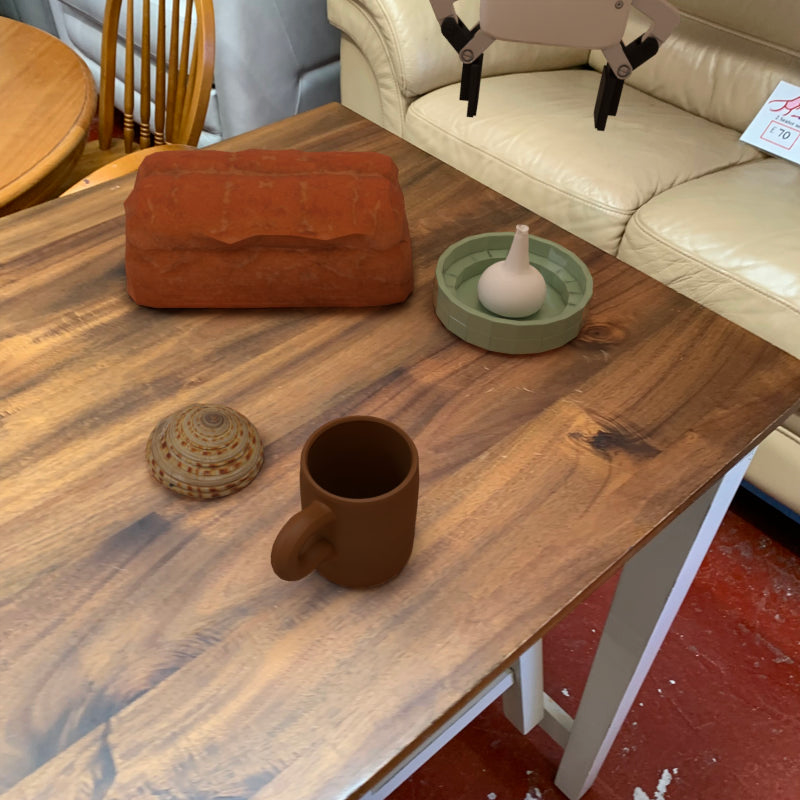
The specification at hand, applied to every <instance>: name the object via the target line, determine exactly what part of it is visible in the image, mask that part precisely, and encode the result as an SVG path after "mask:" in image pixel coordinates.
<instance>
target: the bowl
mask: <svg viewBox="0 0 800 800" xmlns="http://www.w3.org/2000/svg"><path fill="white" fill-rule="evenodd" d="M515 233H516V231H515V232H514V231H495V232H494V231H492V232H483V233H479V234H475V235H471V236H467V237H464V238H463V239H460V240H458V241H456V242H454V243H452V244H451V245H449V246H448V247H447V248H446V249H445V250H444V252H443V253H442V254H441V255H440V256H439V257H438V259H437V263H436V266H435V269H434V270H435V271H434V277H433V278H434V279H433V292H432V302H433V306H434V310H435V315H436V316H437V318H438V319H439V320H440V322H441V323H442V324H443V325H444V327H445V328H446V329H447V330H448V331H450V332H451V333H452V334H454V335H456V337H458V338H460V339H461V340H463V341H464V342H466V343H469V344H471V345H473V346H476V347H479V348H480V349H484V350H486V351H490V352H495V353H503V354H508V355H529V354H540V353H544V352H547V351H551V350H554V349H555V350H556V349H559V348H560V347H561V348H562V347H563V346H564V345H566V344H567V343H569V342H570V341H572V340H573V339H575V338H576V337H577V336H578V335H579V333H580V332H581V330H582V329H583V328H584V326H585V324H586V322H587V318H588V314H589V311H590V306H591V302H592V298H593V294H594V293H593V291H594V279H593V276H592V274H591V272H590V270H589V267H588V266H587V264H586V263H585V262H584V261H583V260H581V259H580V258H579V257H578V256H577V255H576V254H575V253H574V252H573V251H572V250H569V249H567V248H566V247H564V246H562V245H561V244H559V243H557V242H555V241H552V240H549V239H546V238H543V237H540V236H537V235H533V234H529V233H528V239H529V264H530V265H531V266H533V267H534V268H536V269H537V270H538V271H539V272H540V274H541V275H542V276H543V278H544V281H545V283H546V289H547V290H546V291H547V292H546V298H545V301H544V304H543V306H542V307H541V308H540V309H539V310H538V311H537V312H536V313H534V314H532V315H529V316H526V317H517V318H514V317H505V316H501V315H498V314H495V313H493V312H491V311H490V310H488V309H487V308H485V307H484V306H483V305H482V303H481V302H480V300H479V297H478V293H477V289H478V282H479V279H480V277H481V275H482V274H483V273H484V271H485V270H486V269H487V268H488V267H490V266H491V265H493V264H495V263H497V262H500V261H505V260H506V258H507V256H508V254H509V251H510V249H511V246H512V243H513V239H514V236H515Z"/></svg>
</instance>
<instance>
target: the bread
mask: <svg viewBox="0 0 800 800" xmlns="http://www.w3.org/2000/svg"><path fill="white" fill-rule="evenodd" d="M136 172H137V173H136V176H135V180H134V185H133V189H132V190H131V192H130V193H129V195H128V196H127V198H126V199H125V200H124V202H123V209H124V214H125V230H124V231H125V232H124V236H125V248H124V249H125V251H124V252H125V253H124V272H125V277H126V283H127V284H126V288H127V289H126V293H127V294H128V295H129V296H130V297H131V299H132V300H133V301H134V302H135V304H136V305H140V306H144V307H148V308H149V307H150V308H155V309H167V308H168V309H180V308H181V309H183V308H184V309H186V308H187V309H194V308H195V309H197V308H198V309H202V308H203V309H204V308H205V309H206V308H208V309H209V308H210V309H215V308H216V309H249V308H250V309H253V308H255V309H256V308H257V309H258V308H259V309H260V308H304V307H305V308H307V307H308V308H312V307H313V308H314V307H317V308H319V307H321V308H324V307H325V308H326V307H328V308H329V307H334V308H335V307H336V308H337V307H338V308H339V307H341V308H342V307H343V308H344V307H349V308H350V307H351V308H352V307H355V308H357V307H359V308H360V307H377V306H378V307H379V306H388V305H394V304H398V303H404V302H405V301H406V300H407V298H408V297H409V296H410V294H412V292H413V290H414V289H415V282H414V281H415V280H414V279H415V278H414V263H413V248H412V239H411V233H410V228H409V227H410V226H409V222H408V216H407V213H406V204H405V203H406V202H405V195H404V192H403V189H402V186H401V185H400V181H399V172H400V170H399V167H398V166H397V164H396V163H395V162H394V160H393V158H392V157H391V156H389V155H387V154H383V153H380V152H377V151H373V150H371V151H367V150H366V151H339V150H338V151H337V150H331V151H305V150H304V151H303V150H300V149H299V150H298V149H294V148H288V149H287V148H285V149H274V150H273V149H263V148H249V149H244V150H238V151H235V152H234V151H227V150H226V151H225V150H218V149H217V150H216V149H196V150H195V149H191V150H189V149H188V150H185V149H183V150H162V151H155V152H153V153H149V154H148V155H147V154H146V155H145V156H144V158H143V159H142V161H141V162H140V164H139V166H138V168H137V171H136Z"/></svg>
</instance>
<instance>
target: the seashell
mask: <svg viewBox="0 0 800 800" xmlns="http://www.w3.org/2000/svg"><path fill="white" fill-rule="evenodd" d="M264 457H265V453H264V445H263V441H262V437H261V435H260V433H259V431H258V428H256V426H255V425H254V423H252V421H251V420H250V419H249V418H248V417H246V416H245V415H244V414H243V413H241V412H240V411H238V410H236V409H234V408H231V407H229V406H227V405H224V404H219V403H197V402H195V403H192V404H189V405H186V406H184V407H182V408H179V409H178V410H176V411H174V412H173V413H170V414H168V415H167V416H166V417H164V418H161V420H159V421H158V423H156V425H155V426H154V427H153V429H152V431H150V434H149V436H148V439H147V442H146V445H145V459H146V463H147V465H148V467H149V471H151V473H152V475H153V476H154V477H155V478H156V479H157V481H159V482H160V483H161V484H162V485H164V487H166V488H168V489H170V490H172V491H174V492H176V493H178V494H181V495H184V496H186V497H192V498H196V499H197V498H198V499H215V498H221V497H225V496H226V497H227V496H229V495H232V494H234V493H236V492H238V491H240V490H242V489H243V488H245V487H246V486H248V485H249V484H250V483H251V482H252V481H253V480H254V479H255V478H256V477H257V476H258V474H259V472H260V471H261V469H262V465H263V463H264Z"/></svg>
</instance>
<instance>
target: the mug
mask: <svg viewBox="0 0 800 800" xmlns="http://www.w3.org/2000/svg"><path fill="white" fill-rule="evenodd" d="M301 449H302V450H301V452H300V458H299V459H300V460H299V493H300V507H301V510H300V511H298V512H296V513H295V514H293V515H292V516H291V517H290V518H289V519H288V520H287V521H286V522H285V523H284V524H283V526H282V527H281V529H280V530H279V532H278V533H277V535H276V537H275V539H274V541H273V542H272V543H273V544H272V547H271V551H270V565H271V568H272V570H273V573H274V575H276V576H277V578H279V579H280V580H282V581H285V582H288V583H289V582H297V581H301V580H304V578H306V577H307V576H309V575H310V574H312V573H313V572H314V571H316V572H317V573H318V574H319V575H320V576H321V577H323V578H324V579H325V580H328V581H329V582H331V583H333V584H334V585H338V586H341V587H345V588H350V589H369V588H373V587H377V586H380V585H382V584H384V583H386V582H389V581H391V579H393V578H395V577H397V575H398V574H400V573H401V571H402V570H403V569H404V568H405V566H406V565H407V563H408V561H409V560H410V558H411V555H412V552H413V550H414V549H413V548H414V542H415V534H416V524H417V522H416V521H417V516H418V505H419V504H418V503H419V492H420V459H419V458H420V457H419V452H418V448H417V446H416V444H415V442H414V440H413V439H412V438H411V437H410V435H409V434H408V433H407V432H406V430H404V429H403V428H401V427H400V425H397V424H395V423H394V422H391V421H389V420H387V419H384V418H381V417H378V416H373V415H365V414H363V415H361V414H358V415H357V414H356V415H348V416H342V417H337V418H335V419H331V420H330V421H327V422H326V423H324V424H322V425H321V426H319V427H318V428H316V429H315V430H313V432H312V433H311V434H310V435H309V437H308V438H307V440H306V441H305V443H304V445H303V446H302V448H301Z"/></svg>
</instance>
